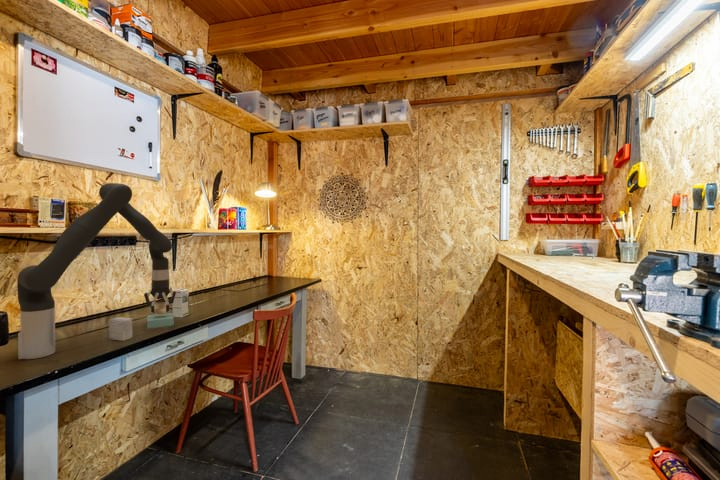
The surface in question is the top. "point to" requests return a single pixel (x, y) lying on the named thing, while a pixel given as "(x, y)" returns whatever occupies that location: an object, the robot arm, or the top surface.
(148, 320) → the teal block
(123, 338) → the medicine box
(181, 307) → the syrup box
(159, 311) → the birch cube
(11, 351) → the top surface
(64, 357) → the top surface
